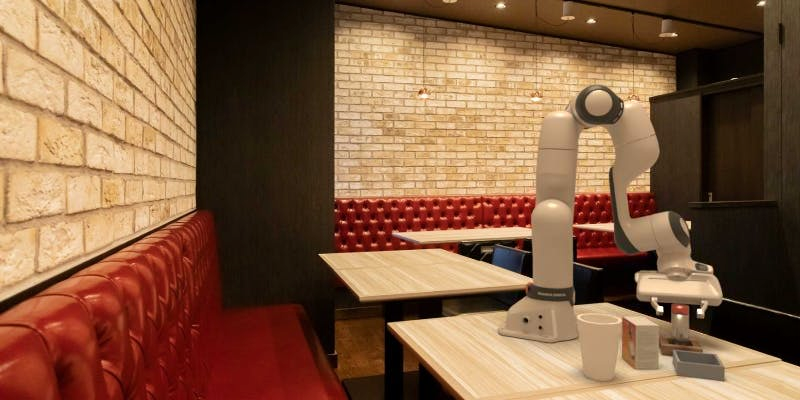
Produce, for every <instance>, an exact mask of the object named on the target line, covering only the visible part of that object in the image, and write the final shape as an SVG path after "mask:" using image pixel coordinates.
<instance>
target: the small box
mask: <svg viewBox="0 0 800 400" xmlns="http://www.w3.org/2000/svg"><path fill="white" fill-rule="evenodd" d="M621 320H622V332H621V358H622V359H623V360H624V361H626V362H627V363H628V364H629V365H630V366H631V367H633V369H635V370H658V369H659V362H660V361H659V357H660V356H659V353H660V347H659V336H660V325H659V324H656V323H655V322H653V321H652V320H650V319H648V318H647V317H646V316H622V317H621Z"/></svg>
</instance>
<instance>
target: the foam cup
mask: <svg viewBox="0 0 800 400" xmlns="http://www.w3.org/2000/svg"><path fill="white" fill-rule="evenodd" d="M576 327H577V331H578V334H579V336H578V338H579V345H580V354H581V361H582V368H583V375H585V376H584V377H586V378H587V377H588V378H587V379H589V378H590V380H592V379H593V381H597V380H598V382H608V381H609V382H610V381H612V380H613V379H614V378H615V374H616V365H617V359H618V355H619V354H618V352H619V347H620V339H621V335H622V318H619V317H617V316H614V315H611V314H610V315H609V314H605V313H604V314H603V313H582V314H581V313H580V314H578V315H577V316H576Z"/></svg>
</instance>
